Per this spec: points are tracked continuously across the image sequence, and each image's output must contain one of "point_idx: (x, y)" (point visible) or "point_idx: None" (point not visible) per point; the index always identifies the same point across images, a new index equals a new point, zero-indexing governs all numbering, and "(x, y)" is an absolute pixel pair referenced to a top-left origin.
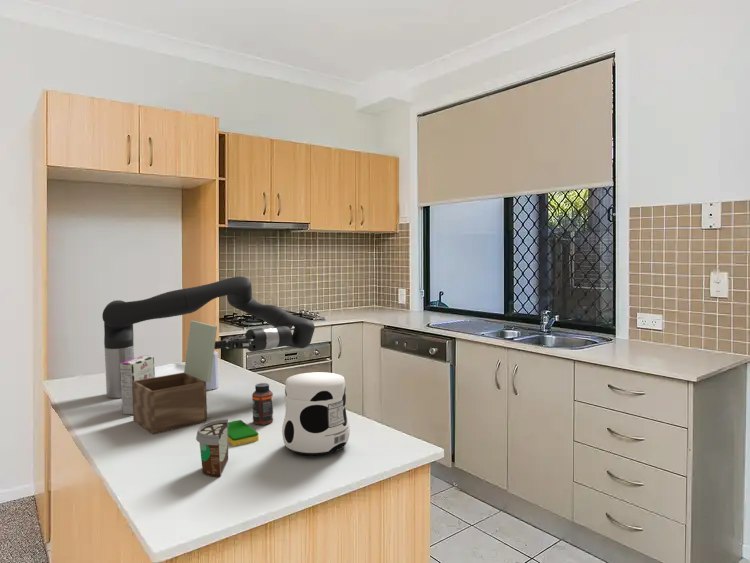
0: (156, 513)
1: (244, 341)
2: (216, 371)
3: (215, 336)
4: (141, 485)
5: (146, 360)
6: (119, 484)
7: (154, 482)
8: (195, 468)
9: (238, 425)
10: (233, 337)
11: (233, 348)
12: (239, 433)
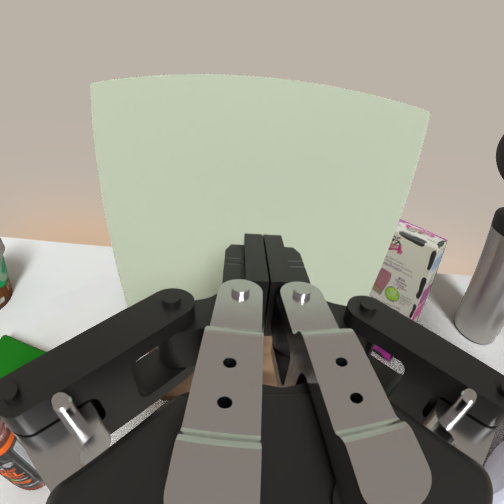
0: (9, 245)
1: (29, 368)
2: None
3: (94, 139)
4: (50, 252)
5: (403, 238)
6: (72, 246)
7: (42, 259)
8: (20, 286)
9: None
10: (307, 353)
11: (152, 360)
12: (5, 352)
